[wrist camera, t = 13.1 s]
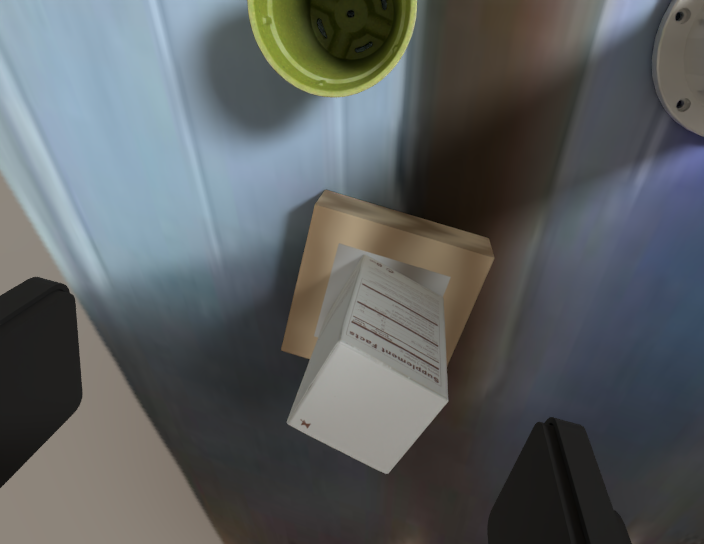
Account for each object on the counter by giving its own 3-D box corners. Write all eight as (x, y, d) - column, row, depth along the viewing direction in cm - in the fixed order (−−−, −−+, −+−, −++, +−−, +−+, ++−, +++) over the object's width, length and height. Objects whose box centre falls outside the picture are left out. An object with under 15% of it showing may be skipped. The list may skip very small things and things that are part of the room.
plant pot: (387, -97, 32) (372, -140, 24) (440, 49, 35) (442, 53, 27) (265, -23, 34) (216, -40, 27) (324, 105, 38) (295, 123, 30)
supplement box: (399, 360, 42) (386, 480, 30) (322, 318, 41) (280, 425, 30) (447, 295, 38) (452, 403, 27) (365, 249, 38) (336, 340, 27)
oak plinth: (489, 238, 40) (494, 258, 36) (433, 369, 46) (433, 397, 43) (325, 189, 40) (314, 204, 37) (292, 326, 47) (280, 350, 43)
